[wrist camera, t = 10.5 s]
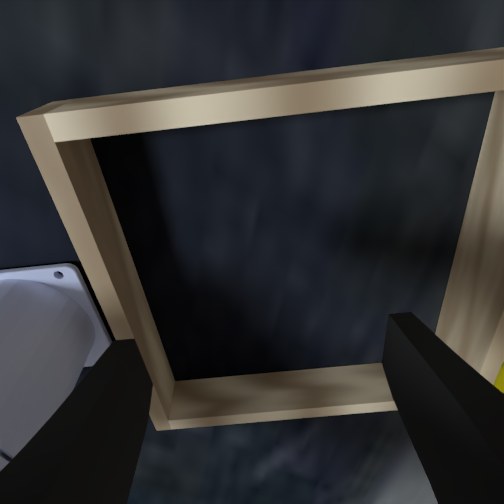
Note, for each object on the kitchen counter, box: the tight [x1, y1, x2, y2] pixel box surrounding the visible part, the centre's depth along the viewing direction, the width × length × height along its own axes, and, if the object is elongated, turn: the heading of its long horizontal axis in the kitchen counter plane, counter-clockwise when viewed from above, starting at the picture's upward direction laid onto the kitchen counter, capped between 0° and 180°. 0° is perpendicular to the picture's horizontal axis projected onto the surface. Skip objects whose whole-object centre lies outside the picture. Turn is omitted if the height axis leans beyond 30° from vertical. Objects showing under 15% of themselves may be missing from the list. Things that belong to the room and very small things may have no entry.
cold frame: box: [16, 47, 504, 431], centre depth 18 cm, size 20×20×4 cm
